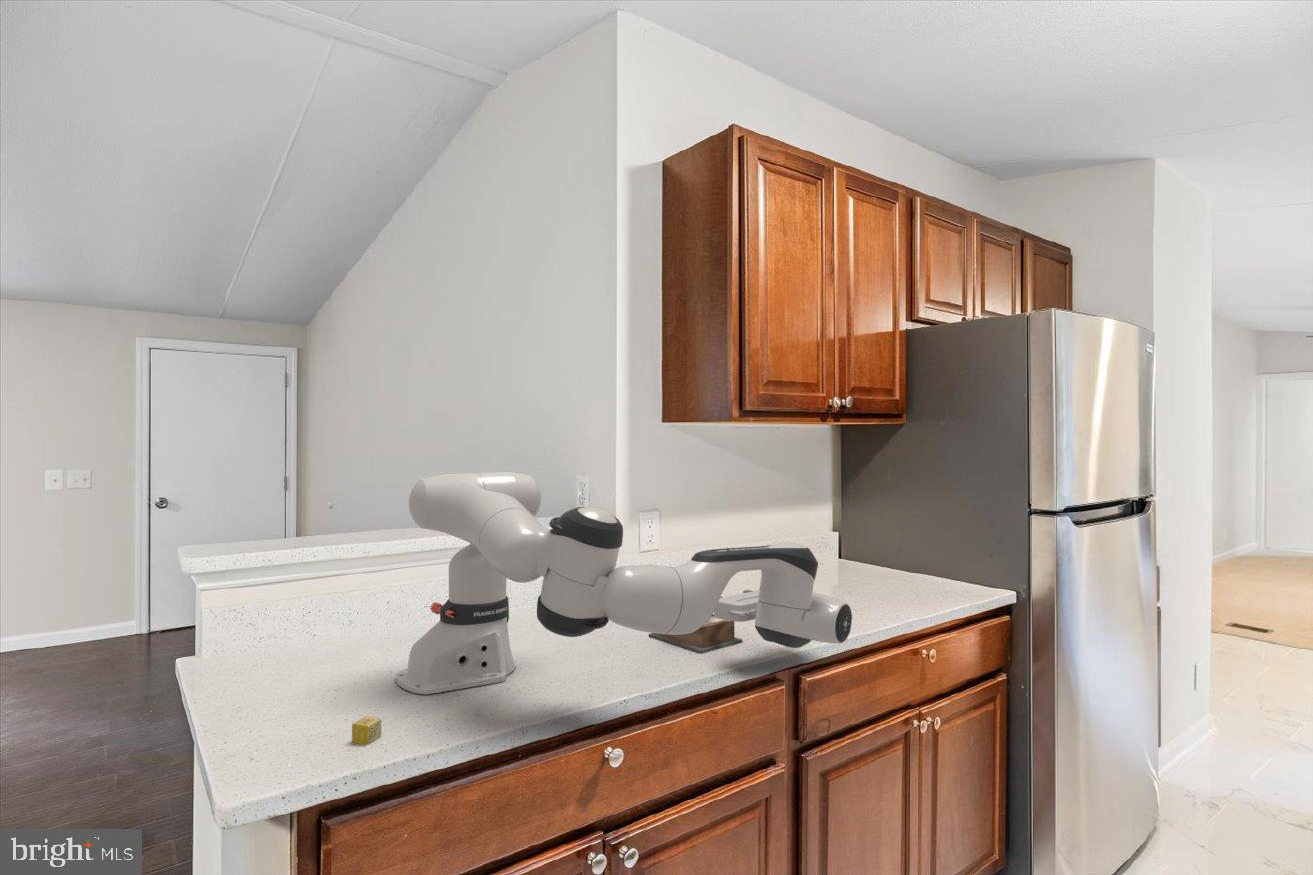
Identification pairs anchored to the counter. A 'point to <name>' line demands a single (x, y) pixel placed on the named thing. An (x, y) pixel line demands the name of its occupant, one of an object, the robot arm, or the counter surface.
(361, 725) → the alphabet block
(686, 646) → the walnut pedestal
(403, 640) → the counter surface
